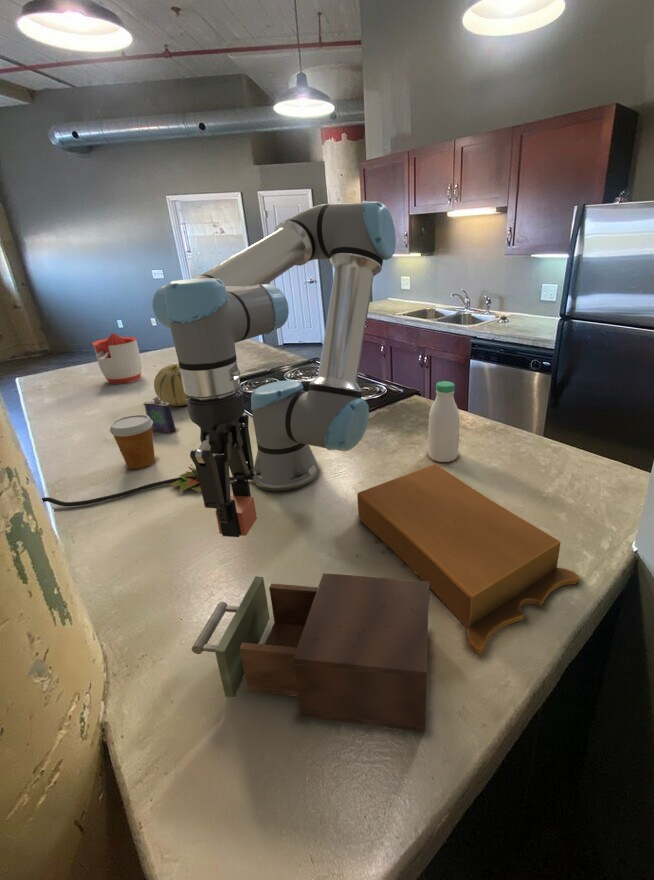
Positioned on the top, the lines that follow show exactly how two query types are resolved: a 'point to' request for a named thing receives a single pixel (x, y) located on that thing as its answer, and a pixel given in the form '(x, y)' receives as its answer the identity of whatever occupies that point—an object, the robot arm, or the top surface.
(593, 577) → the top surface
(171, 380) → the cantaloupe
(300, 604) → the drawer
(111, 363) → the citrus juicer
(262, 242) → the robot arm
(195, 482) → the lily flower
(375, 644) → the cabinet
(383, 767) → the top surface
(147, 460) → the disposable coffee cup
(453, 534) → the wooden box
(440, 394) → the milk bottle
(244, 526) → the block
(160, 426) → the flask
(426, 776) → the top surface
